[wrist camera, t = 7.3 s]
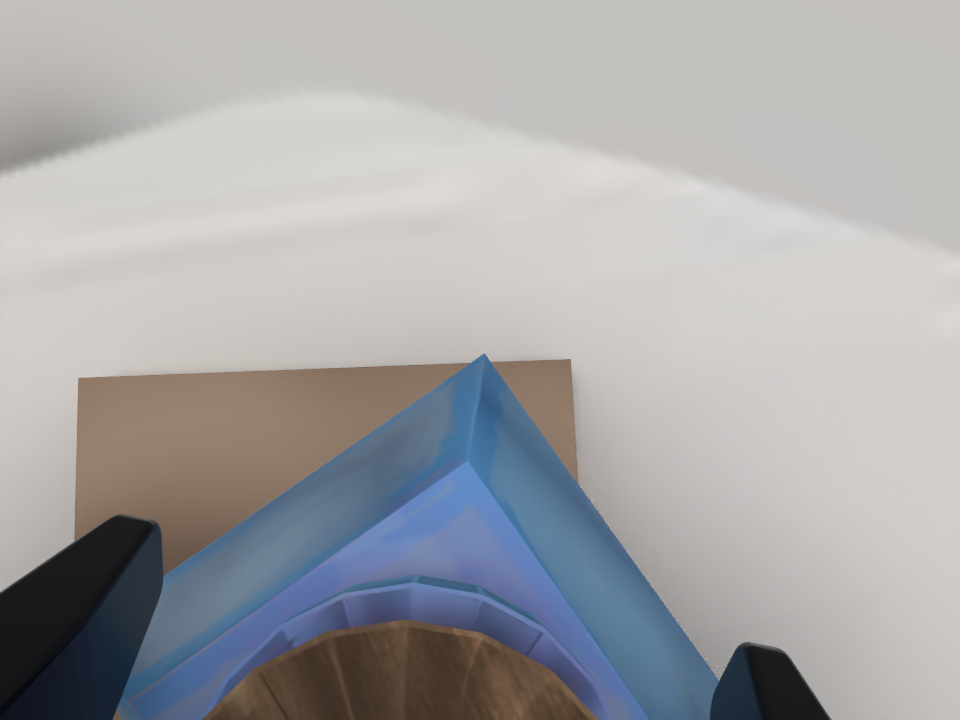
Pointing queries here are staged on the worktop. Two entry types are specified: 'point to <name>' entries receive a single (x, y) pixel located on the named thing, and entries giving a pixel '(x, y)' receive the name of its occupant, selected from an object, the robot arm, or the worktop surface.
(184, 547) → the walnut block
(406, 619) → the perfume bottle
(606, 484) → the worktop surface
